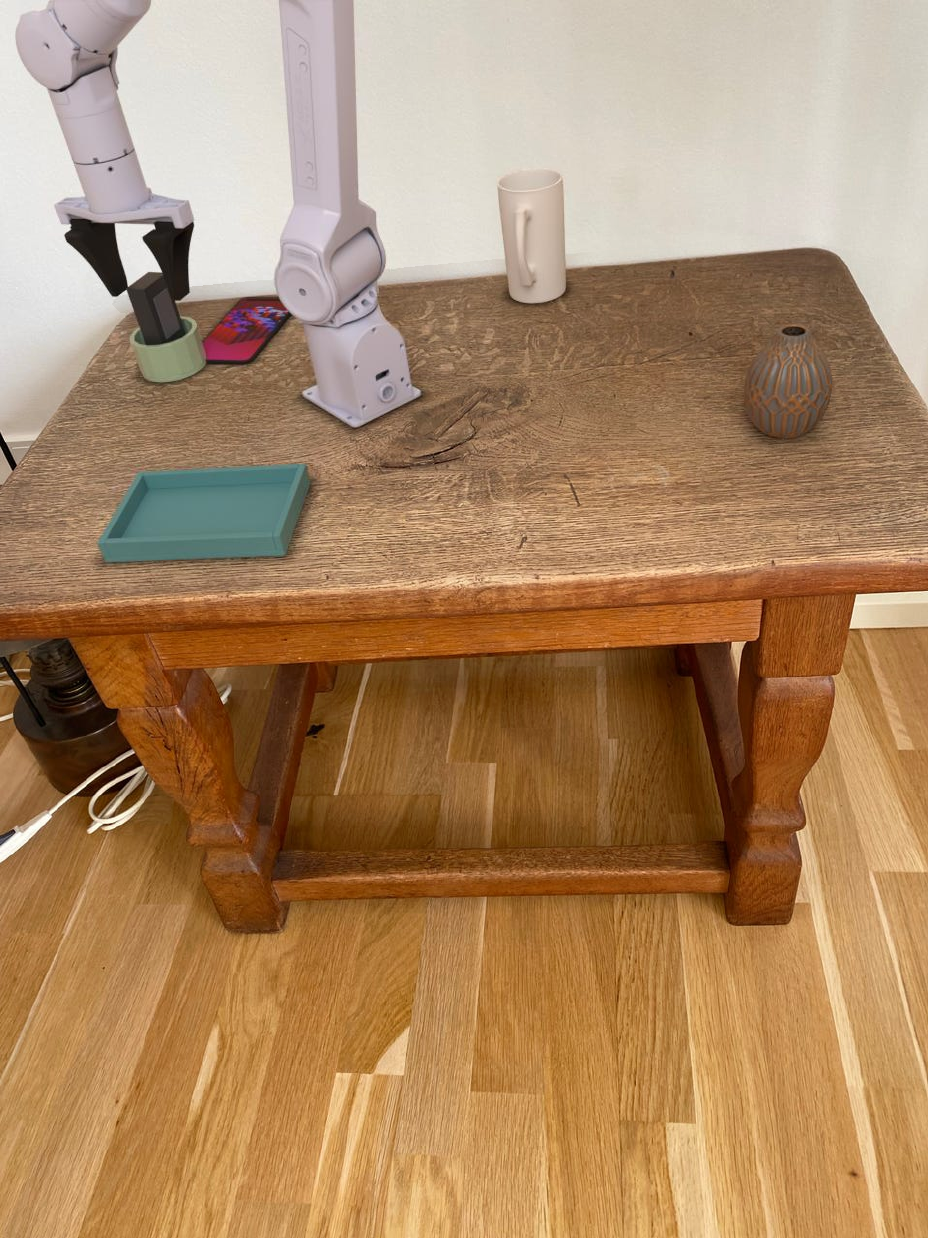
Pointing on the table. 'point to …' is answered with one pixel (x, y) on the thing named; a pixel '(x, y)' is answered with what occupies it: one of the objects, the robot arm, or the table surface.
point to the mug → (533, 233)
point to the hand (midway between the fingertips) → (150, 294)
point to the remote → (155, 309)
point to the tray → (207, 513)
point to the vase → (788, 384)
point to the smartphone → (245, 330)
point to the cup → (170, 355)
